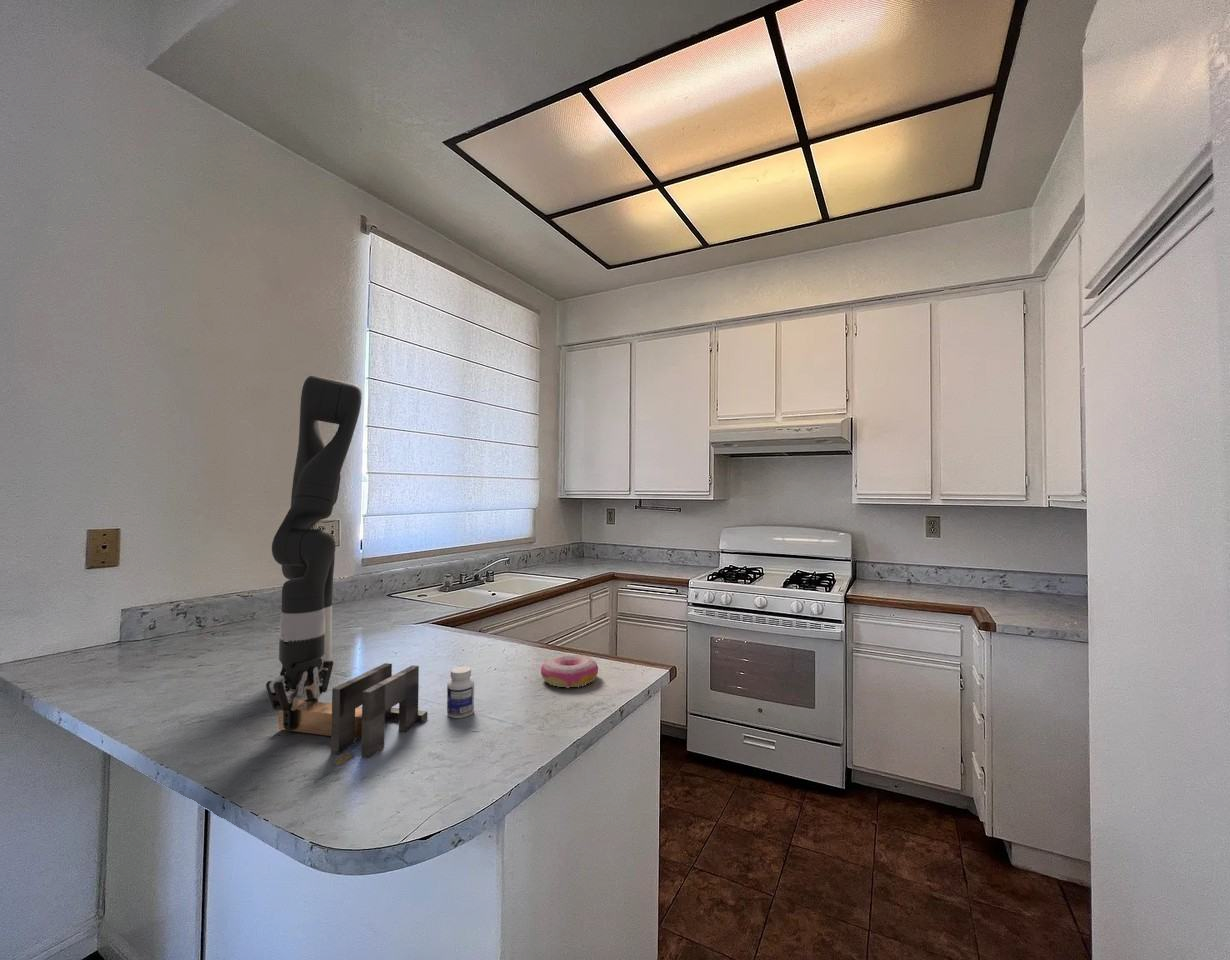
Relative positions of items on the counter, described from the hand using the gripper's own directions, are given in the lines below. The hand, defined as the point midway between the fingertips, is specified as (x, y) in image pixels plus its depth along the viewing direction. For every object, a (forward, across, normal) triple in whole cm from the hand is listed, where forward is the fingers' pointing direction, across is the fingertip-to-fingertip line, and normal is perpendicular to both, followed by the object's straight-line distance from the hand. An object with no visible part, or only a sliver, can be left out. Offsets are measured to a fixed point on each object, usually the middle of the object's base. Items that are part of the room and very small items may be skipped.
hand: (300, 723), depth 99 cm
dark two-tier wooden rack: (+1, 0, +17) cm, 17 cm away
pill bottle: (+1, -13, +26) cm, 29 cm away
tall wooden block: (+1, 0, +6) cm, 7 cm away
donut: (+1, -36, +42) cm, 55 cm away
